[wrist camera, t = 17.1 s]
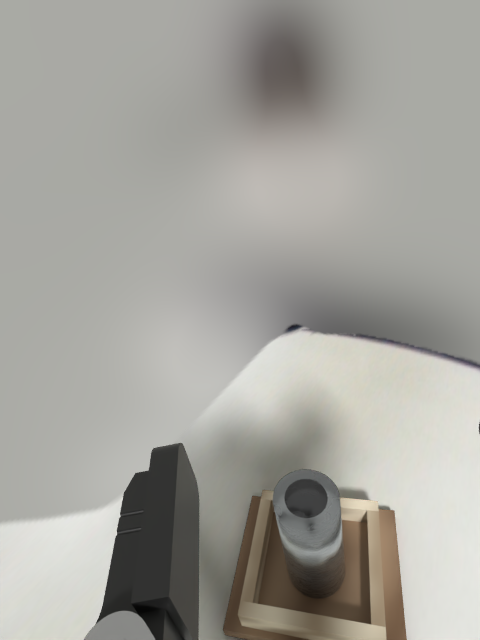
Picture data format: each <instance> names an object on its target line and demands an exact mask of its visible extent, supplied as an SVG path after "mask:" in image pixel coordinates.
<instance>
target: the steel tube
mask: <svg viewBox="0 0 480 640" xmlns="http://www.w3.org/2000/svg"><path fill="white" fill-rule="evenodd" d="M273 506H274V511H275V515H276V520H277V524H278V529H279V533H280V538H281V542H282V547H283V551H284V556H285V560H286V565H287V569H288V574H289V577H290V579H291V582H292V583H293V585H294V586H295V587H296V589H297V590H298V591H300V592H301V593H302V594H304V595H306V596H308V597H311V598H317V599H319V598H326V597H329V596H331V595H333V594H334V593H335V592H337V591H338V590H339V588H340V587H341V585H342V583H343V581H344V578H345V559H344V545H343V532H342V518H341V505H340V495H339V491H338V489H337V487H336V485H335V484H334V482H333V481H332V480H331V479H330V478H329V477H327V476H326V475H324V474H322V473H320V472H318V471H314V470H307V469H304V470H297V471H294V472H291V473H289V474H287V475H286V476H284V477H283V478H282V479H281V480H280V481H279V482H278V484H277V485H276V487H275V490H274V493H273Z"/></svg>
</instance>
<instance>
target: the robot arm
mask: <svg viewBox="0 0 480 640" xmlns="http://www.w3.org/2000/svg"><path fill="white" fill-rule="evenodd" d="M479 433H480V424H479ZM120 515H121V517H120V518H119V523H118V528H117V536H116V538H115V544H114V549H113V554H112V559H111V565H110V570H109V575H108V581H107V586H106V591H105V596H104V602H103V606H102V610H101V613H100V616H99V618H98V620H97V622H96V624H95V626H94V627H93V628H92V629H91V630H90V631H89V633H88V634H87V635H86V637H85V639H84V640H198V614H199V493H198V486H197V482H196V478H195V475H194V473H193V470H192V467H191V464H190V462H189V459H188V456H187V454H186V451H185V448H184V446H183V444H182V443H178V444H173V445H168V446H163V447H157V448H154V449H153V450H152V453H151V459H150V467H149V471H145V472H139V473H135V475H134V477H133V478H132V480H131V482H130V484H129V485H128V487H127V489H126V490H125V492H124V496H123V501H122V507H121V512H120Z"/></svg>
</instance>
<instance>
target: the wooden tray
mask: <svg viewBox="0 0 480 640" xmlns="http://www.w3.org/2000/svg"><path fill="white" fill-rule="evenodd" d="M273 493H274V491H270V490H263V491H262V496H261V497H258V496H252V500H251V505H250V509H249V514H248V518H247V523H246V527H245V532H244V536H243V541H242V545H241V550H240V554H239V559H238V564H237V568H236V573H235V577H234V582H233V586H232V591H231V595H230V600H229V604H228V609H227V613H226V618H225V622H224V627H223V631H224V633H225V635H228V636H233V637H238V638H243V639H247V640H407V639H406V629H405V618H404V608H403V597H402V587H401V576H400V566H399V555H398V545H397V534H396V524H395V513H394V511H393V510H383V509H379V508H378V501H371V500H361V499H350V498H340V505H341V518H342V532H343V545H344V559H345V578H344V581H343V583H342V585H341V587H340V588H339V590H338V591H337V592H335V593H334V594H333V595H331V596H329V597H326V598H319V599H317V598H311V597H308V596H306V595H304V594H302V593H301V592H300V591H298V590H297V589H296V587H295V586H294V585H293V583H292V582H291V579H290V577H289V574H288V569H287V565H286V560H285V556H284V551H283V547H282V542H281V538H280V533H279V529H278V524H277V520H276V515H275V511H274V506H273Z"/></svg>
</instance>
